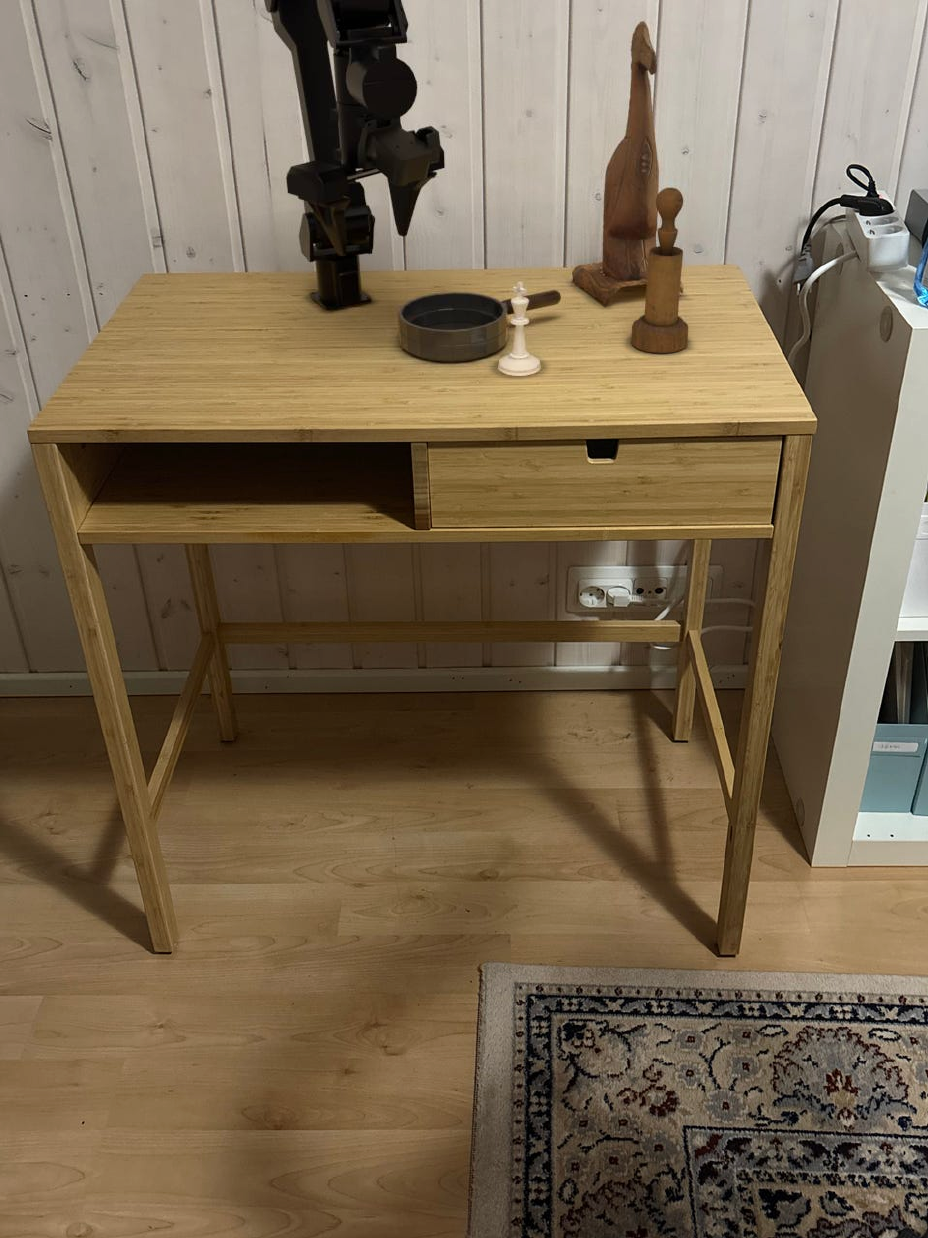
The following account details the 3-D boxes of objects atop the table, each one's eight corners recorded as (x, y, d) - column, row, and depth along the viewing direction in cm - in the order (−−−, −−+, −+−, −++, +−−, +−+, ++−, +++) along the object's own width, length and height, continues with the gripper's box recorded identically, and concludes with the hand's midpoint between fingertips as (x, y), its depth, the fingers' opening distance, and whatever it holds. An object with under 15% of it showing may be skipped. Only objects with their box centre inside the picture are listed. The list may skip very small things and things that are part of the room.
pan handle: (500, 319, 143) (500, 304, 142) (493, 314, 144) (492, 300, 143) (563, 305, 146) (563, 291, 145) (556, 300, 147) (556, 286, 146)
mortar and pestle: (685, 333, 143) (699, 180, 133) (688, 354, 138) (702, 197, 127) (630, 333, 144) (639, 180, 133) (631, 353, 138) (641, 196, 128)
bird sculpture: (608, 310, 150) (621, 33, 132) (568, 282, 159) (576, 19, 141) (685, 297, 153) (708, 25, 135) (642, 270, 162) (658, 12, 144)
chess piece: (517, 355, 139) (517, 272, 133) (549, 366, 136) (551, 281, 130) (489, 368, 136) (488, 283, 130) (521, 379, 133) (522, 293, 127)
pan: (382, 335, 145) (380, 304, 143) (475, 316, 150) (474, 285, 147) (429, 372, 135) (427, 339, 133) (526, 349, 140) (527, 317, 138)
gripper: (344, 127, 116) (356, 282, 125) (478, 95, 126) (479, 240, 135) (275, 110, 122) (291, 259, 131) (408, 81, 133) (414, 220, 142)
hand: (372, 245), depth 135 cm, fingers open, 9 cm apart
